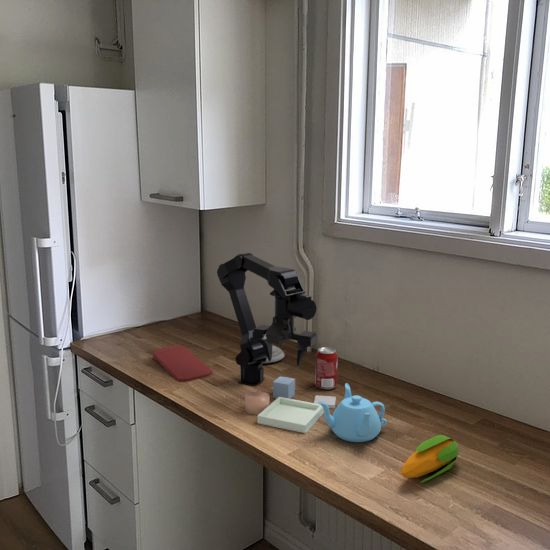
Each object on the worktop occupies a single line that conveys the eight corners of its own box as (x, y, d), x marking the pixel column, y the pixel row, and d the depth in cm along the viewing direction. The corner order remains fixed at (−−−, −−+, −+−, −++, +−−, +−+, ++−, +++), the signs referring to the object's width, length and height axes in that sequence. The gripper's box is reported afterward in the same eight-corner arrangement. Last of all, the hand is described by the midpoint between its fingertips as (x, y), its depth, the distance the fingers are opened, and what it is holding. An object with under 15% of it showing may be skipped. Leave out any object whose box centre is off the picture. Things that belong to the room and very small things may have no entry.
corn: (467, 433, 147) (417, 462, 133) (467, 464, 148) (418, 495, 135) (440, 425, 152) (389, 452, 139) (440, 454, 153) (390, 484, 140)
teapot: (393, 431, 165) (395, 394, 163) (366, 453, 153) (368, 414, 151) (345, 416, 173) (346, 382, 171) (316, 437, 161) (316, 399, 159)
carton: (213, 385, 205) (179, 353, 224) (214, 372, 203) (179, 341, 222) (180, 394, 198) (147, 360, 217) (180, 380, 197) (147, 347, 215)
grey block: (313, 408, 180) (313, 403, 179) (315, 400, 185) (315, 395, 185) (334, 410, 179) (334, 405, 178) (335, 401, 184) (335, 396, 184)
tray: (257, 423, 169) (257, 415, 169) (278, 403, 181) (278, 396, 181) (305, 433, 163) (305, 425, 163) (324, 412, 176) (324, 405, 175)
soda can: (335, 391, 190) (336, 354, 188) (313, 389, 192) (314, 352, 189) (338, 383, 197) (339, 347, 194) (316, 381, 198) (317, 345, 196)
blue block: (273, 397, 186) (273, 381, 185) (279, 391, 190) (280, 376, 189) (288, 400, 184) (288, 384, 183) (295, 394, 188) (295, 378, 187)
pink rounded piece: (240, 412, 176) (240, 399, 175) (251, 402, 182) (251, 390, 182) (263, 416, 173) (263, 403, 172) (273, 407, 179) (273, 394, 179)
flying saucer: (233, 360, 217) (233, 346, 216) (258, 349, 230) (258, 334, 228) (269, 369, 209) (269, 354, 208) (292, 356, 221) (292, 342, 220)
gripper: (243, 315, 178) (243, 367, 182) (303, 323, 171) (303, 377, 174) (260, 306, 188) (260, 355, 192) (318, 313, 181) (317, 364, 184)
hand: (284, 363), depth 185 cm, fingers open, 9 cm apart
